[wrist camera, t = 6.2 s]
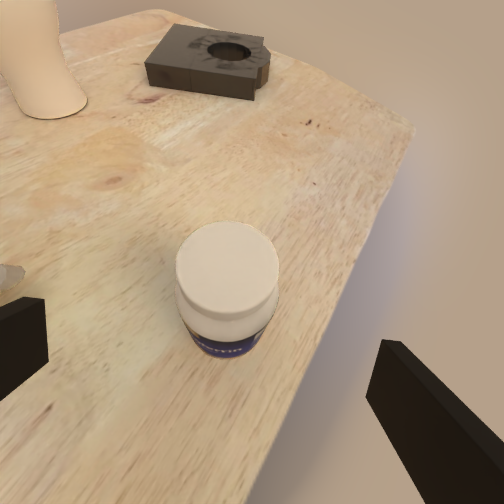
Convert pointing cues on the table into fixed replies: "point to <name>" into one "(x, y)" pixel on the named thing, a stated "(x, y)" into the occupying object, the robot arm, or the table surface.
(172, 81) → the bottle holder base
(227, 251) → the pill bottle
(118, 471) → the table surface
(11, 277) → the beige blocky figure
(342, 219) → the table surface
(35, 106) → the cup
